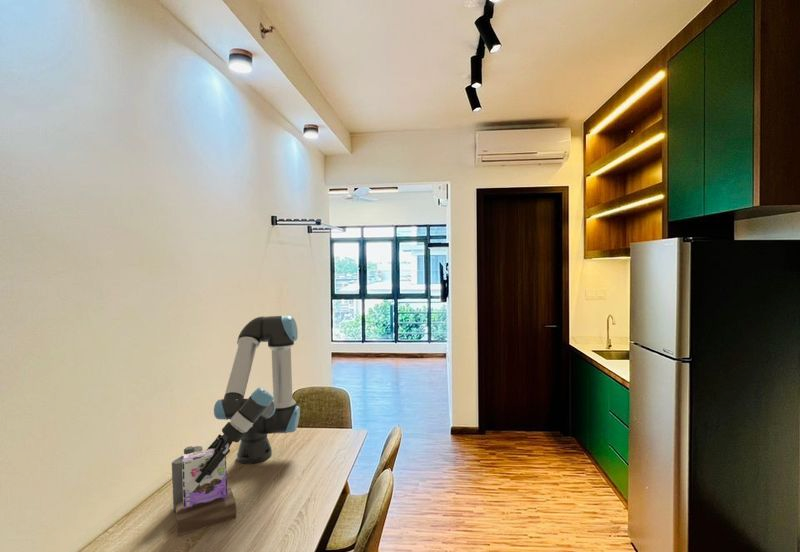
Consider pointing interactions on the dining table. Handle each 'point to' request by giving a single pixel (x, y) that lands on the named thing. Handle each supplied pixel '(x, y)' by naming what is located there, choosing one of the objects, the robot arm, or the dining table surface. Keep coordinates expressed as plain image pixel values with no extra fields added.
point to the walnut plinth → (205, 514)
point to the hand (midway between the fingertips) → (188, 485)
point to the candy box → (210, 485)
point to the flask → (180, 475)
